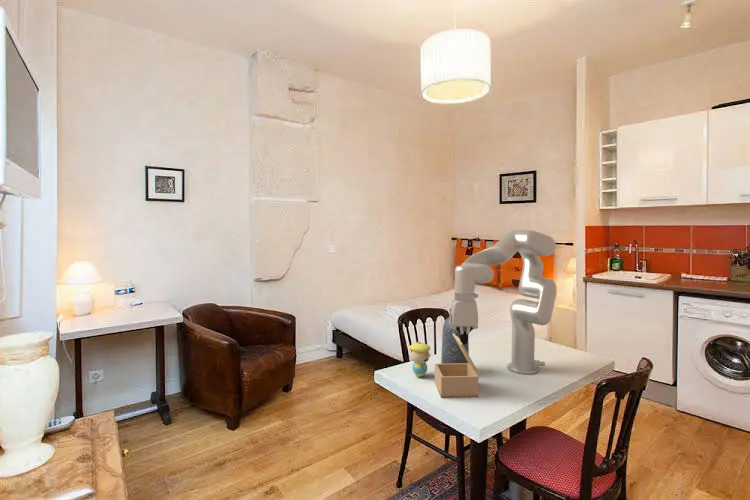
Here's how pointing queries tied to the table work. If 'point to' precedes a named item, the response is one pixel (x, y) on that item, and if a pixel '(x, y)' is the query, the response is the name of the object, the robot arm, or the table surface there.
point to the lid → (466, 354)
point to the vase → (452, 345)
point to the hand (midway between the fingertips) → (463, 343)
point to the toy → (420, 358)
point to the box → (456, 380)
